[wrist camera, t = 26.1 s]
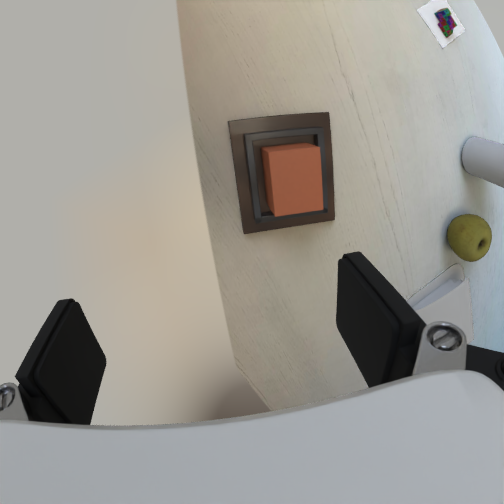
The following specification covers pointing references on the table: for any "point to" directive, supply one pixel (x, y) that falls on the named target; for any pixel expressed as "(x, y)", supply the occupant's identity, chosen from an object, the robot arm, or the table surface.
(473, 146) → the beverage can
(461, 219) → the apple
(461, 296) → the book
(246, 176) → the dark brown shallow tray
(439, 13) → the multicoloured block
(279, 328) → the table surface
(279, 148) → the orange brown block
